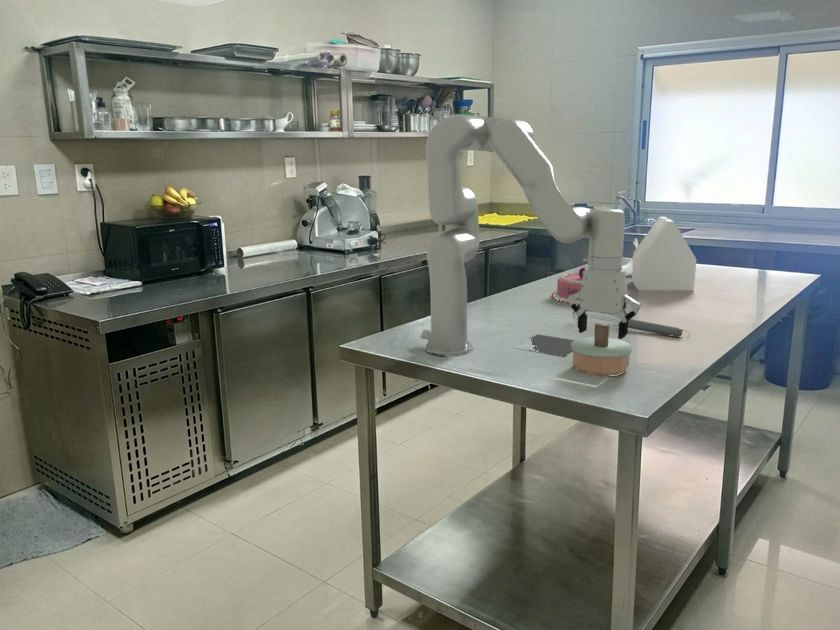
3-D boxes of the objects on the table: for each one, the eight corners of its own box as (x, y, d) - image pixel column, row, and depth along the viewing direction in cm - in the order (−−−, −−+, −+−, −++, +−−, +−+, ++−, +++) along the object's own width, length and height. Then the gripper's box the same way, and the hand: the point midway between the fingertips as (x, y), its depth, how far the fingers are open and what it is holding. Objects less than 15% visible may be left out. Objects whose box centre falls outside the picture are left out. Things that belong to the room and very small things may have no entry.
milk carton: (683, 282, 255) (688, 216, 249) (693, 290, 240) (699, 221, 234) (631, 281, 258) (635, 216, 252) (638, 290, 243) (642, 221, 237)
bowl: (566, 371, 159) (567, 351, 158) (586, 357, 168) (587, 338, 167) (615, 380, 152) (616, 359, 151) (633, 366, 161) (634, 346, 160)
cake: (542, 302, 229) (543, 271, 226) (561, 288, 250) (562, 260, 248) (617, 308, 218) (619, 276, 215) (630, 293, 240) (631, 263, 237)
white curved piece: (599, 277, 267) (601, 240, 264) (637, 272, 274) (639, 237, 271) (607, 279, 263) (608, 242, 259) (645, 274, 270) (647, 238, 266)
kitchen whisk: (686, 341, 180) (688, 319, 179) (568, 326, 199) (569, 305, 197) (692, 336, 185) (693, 314, 184) (576, 321, 204) (576, 301, 202)
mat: (511, 348, 177) (511, 347, 177) (537, 335, 188) (537, 334, 188) (564, 358, 168) (564, 357, 168) (587, 343, 180) (587, 342, 180)
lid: (561, 351, 158) (561, 327, 156) (585, 337, 168) (585, 314, 167) (618, 361, 149) (620, 336, 148) (640, 345, 160) (641, 322, 159)
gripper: (563, 262, 156) (561, 332, 160) (637, 269, 146) (632, 344, 150) (576, 257, 162) (574, 325, 166) (648, 264, 152) (643, 336, 156)
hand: (601, 334), depth 158 cm, fingers open, 9 cm apart
